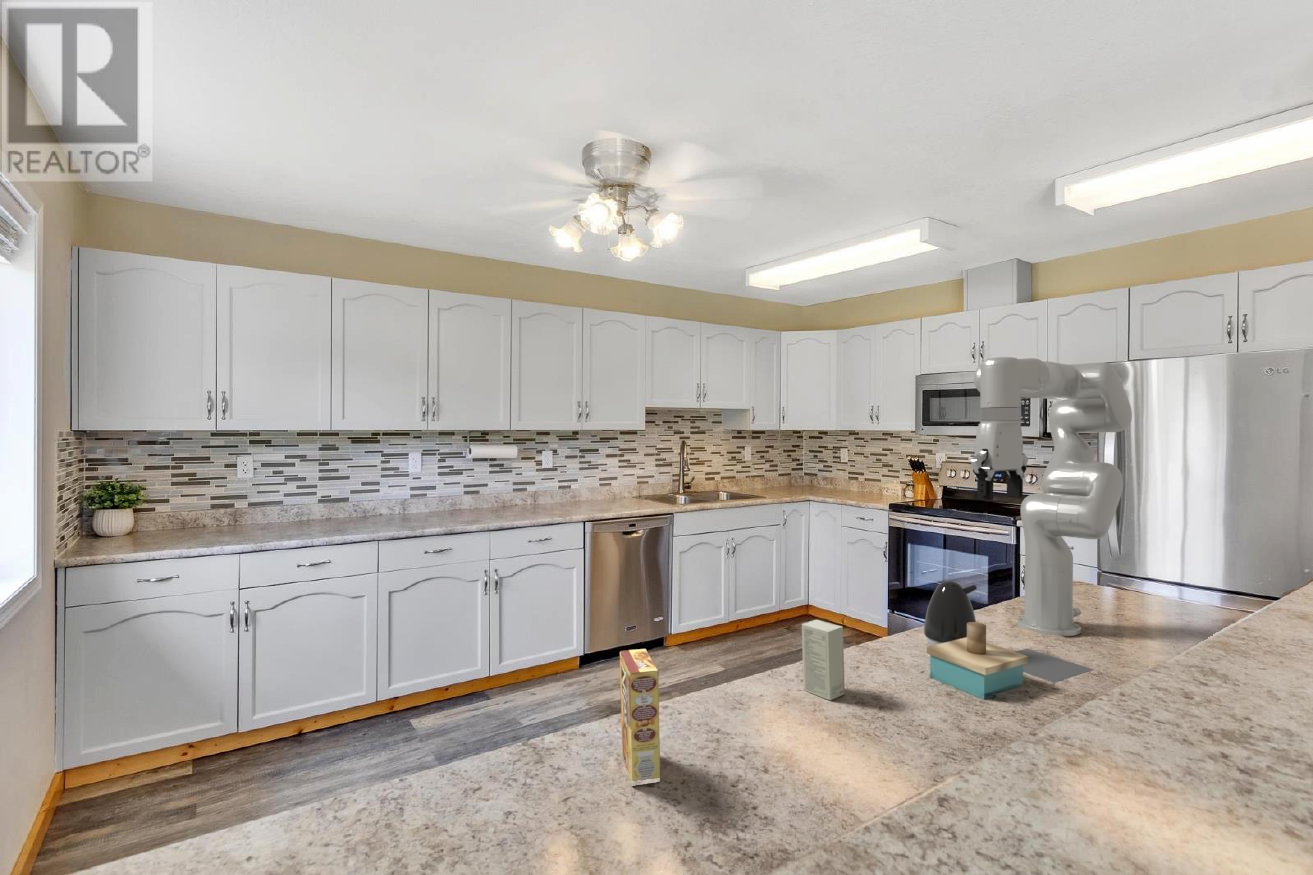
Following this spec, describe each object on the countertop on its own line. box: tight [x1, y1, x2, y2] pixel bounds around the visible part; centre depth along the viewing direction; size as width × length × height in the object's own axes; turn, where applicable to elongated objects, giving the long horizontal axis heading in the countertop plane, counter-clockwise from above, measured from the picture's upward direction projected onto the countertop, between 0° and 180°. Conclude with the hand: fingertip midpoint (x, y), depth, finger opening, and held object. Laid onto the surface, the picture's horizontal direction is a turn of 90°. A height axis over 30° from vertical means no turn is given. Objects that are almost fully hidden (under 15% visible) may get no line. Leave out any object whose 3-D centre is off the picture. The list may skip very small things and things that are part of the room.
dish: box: [929, 654, 1024, 700], centre depth 116 cm, size 11×11×4 cm
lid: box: [926, 621, 1028, 675], centre depth 116 cm, size 12×12×6 cm
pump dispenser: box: [923, 580, 978, 647], centre depth 131 cm, size 10×10×15 cm
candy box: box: [619, 648, 661, 781], centre depth 87 cm, size 9×4×15 cm, turn 13°
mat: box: [1015, 648, 1094, 683], centre depth 124 cm, size 13×13×1 cm
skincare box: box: [801, 619, 846, 701], centre depth 112 cm, size 6×4×12 cm
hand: (1000, 498), depth 132 cm, fingers open, 9 cm apart
